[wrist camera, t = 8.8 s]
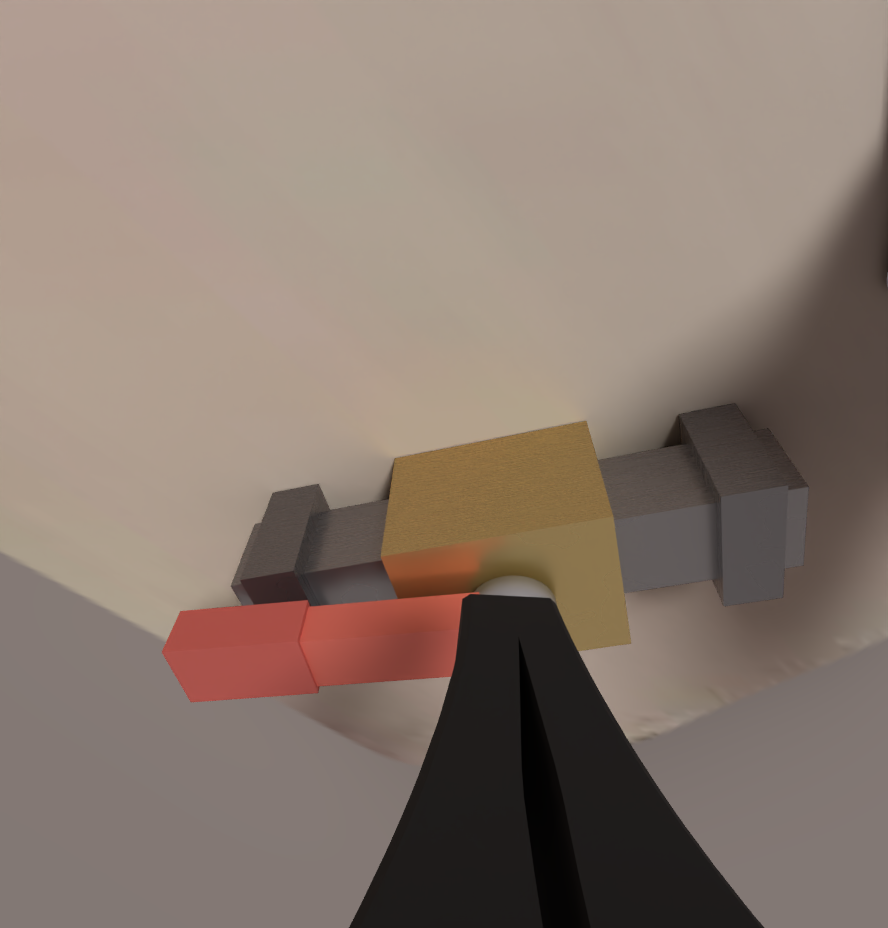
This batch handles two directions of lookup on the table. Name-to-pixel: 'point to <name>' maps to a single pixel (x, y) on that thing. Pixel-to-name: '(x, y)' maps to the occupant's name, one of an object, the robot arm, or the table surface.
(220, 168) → the table surface
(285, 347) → the table surface
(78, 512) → the table surface
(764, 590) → the pipe valve
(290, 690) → the lever
